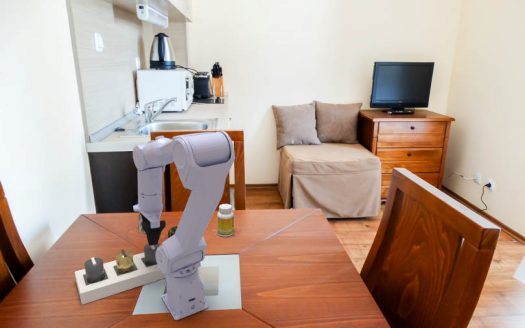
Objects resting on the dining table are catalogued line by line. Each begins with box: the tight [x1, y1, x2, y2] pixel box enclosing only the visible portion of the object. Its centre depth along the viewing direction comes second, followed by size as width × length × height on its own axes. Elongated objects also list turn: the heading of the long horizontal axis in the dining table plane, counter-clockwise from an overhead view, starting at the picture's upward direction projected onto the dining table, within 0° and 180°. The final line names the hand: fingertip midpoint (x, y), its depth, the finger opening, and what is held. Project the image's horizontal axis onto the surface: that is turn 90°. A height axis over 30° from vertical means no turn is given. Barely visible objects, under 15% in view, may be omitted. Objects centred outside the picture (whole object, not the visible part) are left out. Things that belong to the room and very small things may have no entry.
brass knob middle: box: [114, 248, 134, 275], centre depth 89 cm, size 4×4×5 cm
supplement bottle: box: [216, 203, 235, 238], centre depth 113 cm, size 5×5×10 cm
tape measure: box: [167, 225, 178, 239], centre depth 109 cm, size 7×7×4 cm
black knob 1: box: [84, 256, 105, 285], centre depth 85 cm, size 4×4×5 cm
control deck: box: [74, 252, 166, 305], centre depth 90 cm, size 10×22×3 cm, turn 124°
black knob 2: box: [143, 243, 161, 267], centre depth 92 cm, size 4×4×5 cm
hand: (150, 235), depth 92 cm, fingers open, 7 cm apart
